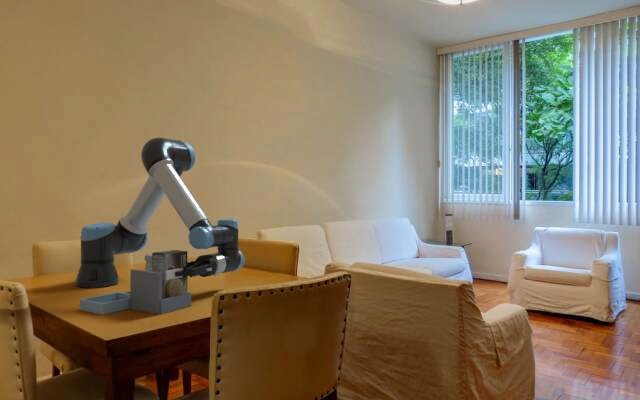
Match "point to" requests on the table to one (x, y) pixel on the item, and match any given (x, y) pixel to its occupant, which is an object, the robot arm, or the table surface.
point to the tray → (106, 303)
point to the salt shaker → (148, 262)
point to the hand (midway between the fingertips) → (157, 274)
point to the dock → (153, 294)
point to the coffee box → (170, 262)
